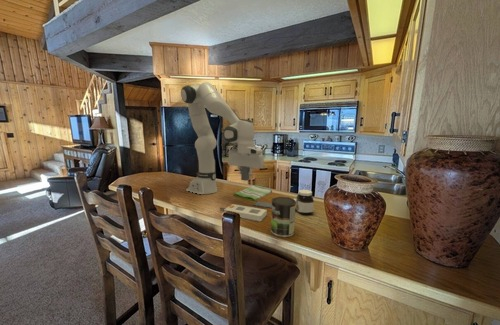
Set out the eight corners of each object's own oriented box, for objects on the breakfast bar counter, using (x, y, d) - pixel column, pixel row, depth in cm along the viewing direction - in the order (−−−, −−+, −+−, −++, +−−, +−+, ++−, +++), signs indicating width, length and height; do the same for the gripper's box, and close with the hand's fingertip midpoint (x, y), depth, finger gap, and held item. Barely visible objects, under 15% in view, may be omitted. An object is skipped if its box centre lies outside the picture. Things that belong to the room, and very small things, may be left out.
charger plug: (241, 180, 118) (241, 165, 116) (243, 178, 121) (243, 164, 119) (247, 180, 116) (247, 166, 115) (249, 179, 119) (249, 165, 118)
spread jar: (315, 215, 111) (316, 194, 110) (294, 216, 110) (295, 194, 108) (305, 207, 123) (306, 187, 121) (286, 208, 121) (287, 188, 119)
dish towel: (272, 192, 151) (272, 187, 151) (255, 201, 133) (255, 196, 132) (252, 188, 161) (252, 184, 160) (233, 196, 142) (233, 191, 141)
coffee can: (278, 239, 87) (279, 206, 85) (266, 228, 97) (267, 198, 94) (299, 234, 91) (301, 203, 89) (286, 224, 101) (287, 195, 98)
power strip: (216, 213, 112) (215, 206, 112) (224, 207, 121) (224, 201, 120) (260, 222, 103) (260, 215, 102) (266, 215, 111) (266, 208, 110)
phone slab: (252, 206, 124) (252, 204, 124) (256, 202, 131) (256, 201, 131) (276, 210, 120) (276, 208, 119) (279, 206, 126) (279, 204, 126)
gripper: (225, 149, 117) (226, 173, 119) (261, 151, 109) (260, 177, 111) (231, 148, 123) (231, 171, 125) (265, 150, 115) (264, 175, 117)
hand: (245, 174), depth 118 cm, fingers closed on charger plug, 3 cm apart
